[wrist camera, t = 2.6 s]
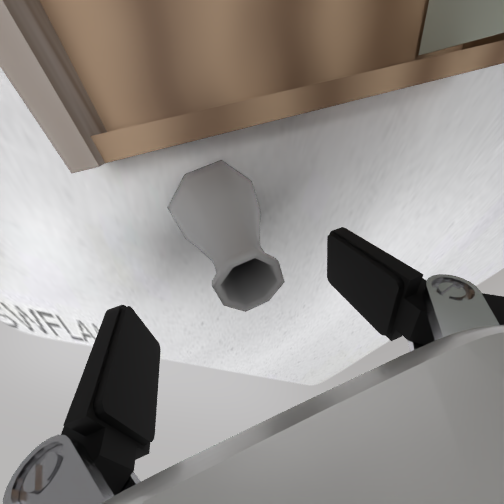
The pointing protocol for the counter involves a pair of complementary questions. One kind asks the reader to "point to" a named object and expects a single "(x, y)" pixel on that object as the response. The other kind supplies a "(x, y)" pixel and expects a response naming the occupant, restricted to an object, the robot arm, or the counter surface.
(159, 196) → the counter surface
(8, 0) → the wooden rimmed tray
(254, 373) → the counter surface
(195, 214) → the flask
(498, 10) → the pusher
